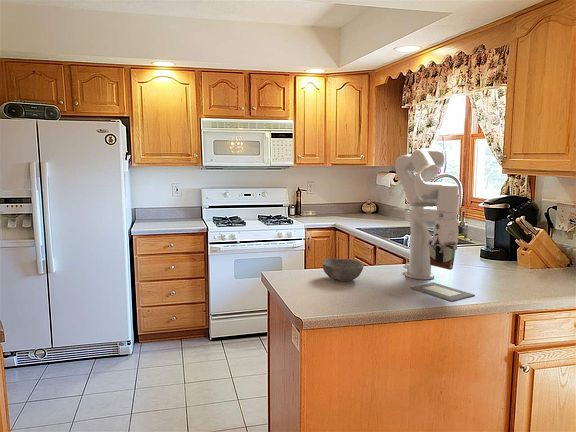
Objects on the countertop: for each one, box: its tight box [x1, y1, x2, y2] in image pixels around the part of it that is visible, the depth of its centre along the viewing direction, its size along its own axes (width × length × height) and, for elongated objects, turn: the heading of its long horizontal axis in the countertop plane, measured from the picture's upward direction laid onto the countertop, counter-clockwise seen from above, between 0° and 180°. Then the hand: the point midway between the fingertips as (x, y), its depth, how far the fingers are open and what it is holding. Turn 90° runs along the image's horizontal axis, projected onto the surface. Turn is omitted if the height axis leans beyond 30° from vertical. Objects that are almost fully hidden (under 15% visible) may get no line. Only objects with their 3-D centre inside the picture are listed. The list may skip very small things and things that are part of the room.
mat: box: [410, 282, 475, 303], centre depth 185 cm, size 20×14×1 cm
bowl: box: [322, 258, 365, 282], centre depth 200 cm, size 18×18×8 cm
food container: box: [428, 240, 458, 271], centre depth 183 cm, size 12×6×10 cm, turn 35°
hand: (443, 260), depth 183 cm, fingers closed on food container, 5 cm apart
